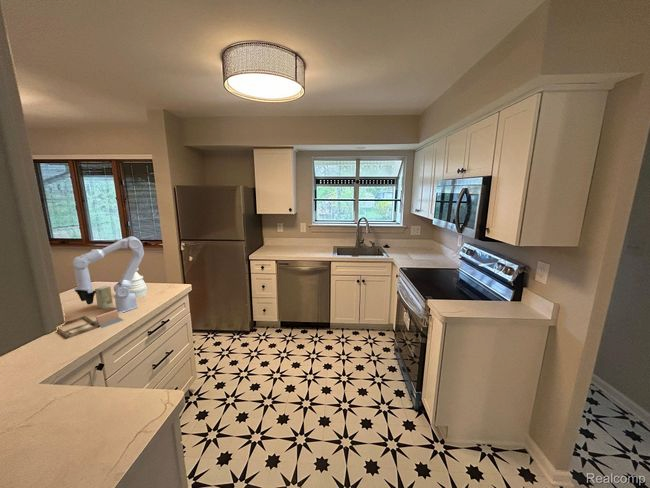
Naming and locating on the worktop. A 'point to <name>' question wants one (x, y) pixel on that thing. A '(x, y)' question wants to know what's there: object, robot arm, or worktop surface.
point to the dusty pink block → (107, 317)
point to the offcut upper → (80, 329)
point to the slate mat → (110, 322)
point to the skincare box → (104, 297)
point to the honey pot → (138, 285)
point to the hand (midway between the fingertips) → (87, 302)
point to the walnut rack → (78, 327)
